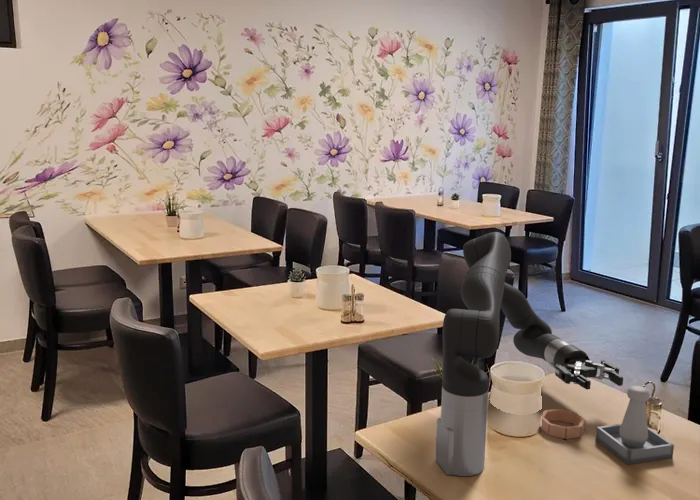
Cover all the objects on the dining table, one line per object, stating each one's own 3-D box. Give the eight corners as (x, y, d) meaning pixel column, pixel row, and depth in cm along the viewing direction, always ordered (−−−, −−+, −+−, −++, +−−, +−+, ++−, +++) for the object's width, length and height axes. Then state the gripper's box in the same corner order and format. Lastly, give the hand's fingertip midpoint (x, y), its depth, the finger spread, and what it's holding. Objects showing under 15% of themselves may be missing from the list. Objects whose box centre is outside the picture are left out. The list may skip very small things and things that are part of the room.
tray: (627, 464, 141) (629, 451, 140) (595, 439, 151) (596, 427, 151) (672, 457, 144) (674, 444, 143) (638, 433, 154) (639, 421, 153)
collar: (554, 440, 151) (555, 430, 150) (533, 421, 159) (533, 411, 159) (591, 435, 153) (592, 425, 153) (568, 417, 162) (568, 407, 161)
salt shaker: (616, 446, 146) (622, 390, 144) (619, 435, 151) (625, 380, 148) (645, 453, 144) (652, 395, 141) (648, 441, 149) (654, 385, 146)
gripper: (541, 346, 168) (579, 371, 153) (592, 341, 172) (633, 365, 157) (539, 375, 170) (576, 402, 155) (589, 369, 174) (630, 395, 158)
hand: (605, 383), depth 156 cm, fingers open, 8 cm apart
